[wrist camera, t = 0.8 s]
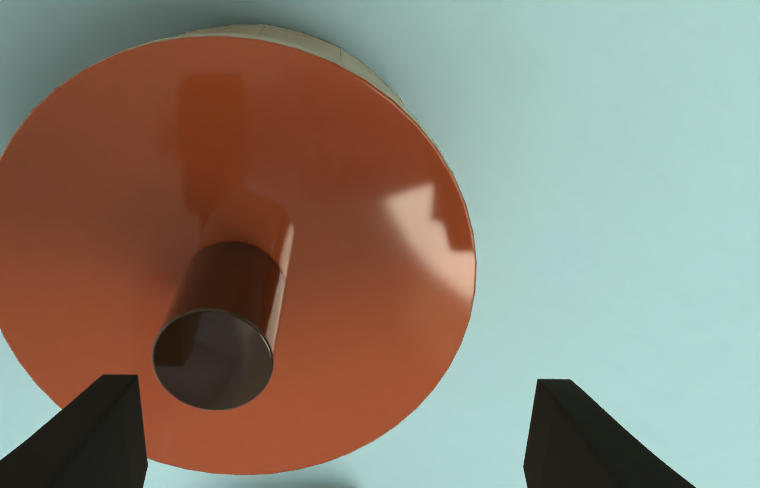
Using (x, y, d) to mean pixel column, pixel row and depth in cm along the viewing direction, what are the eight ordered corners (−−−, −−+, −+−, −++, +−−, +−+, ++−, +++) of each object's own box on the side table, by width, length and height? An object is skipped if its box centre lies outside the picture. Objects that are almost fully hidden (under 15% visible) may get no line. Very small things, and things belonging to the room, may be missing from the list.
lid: (284, 511, 22) (271, 642, 18) (-86, 296, 18) (-203, 401, 14) (564, 236, 18) (624, 323, 14) (175, -92, 15) (115, -94, 11)
